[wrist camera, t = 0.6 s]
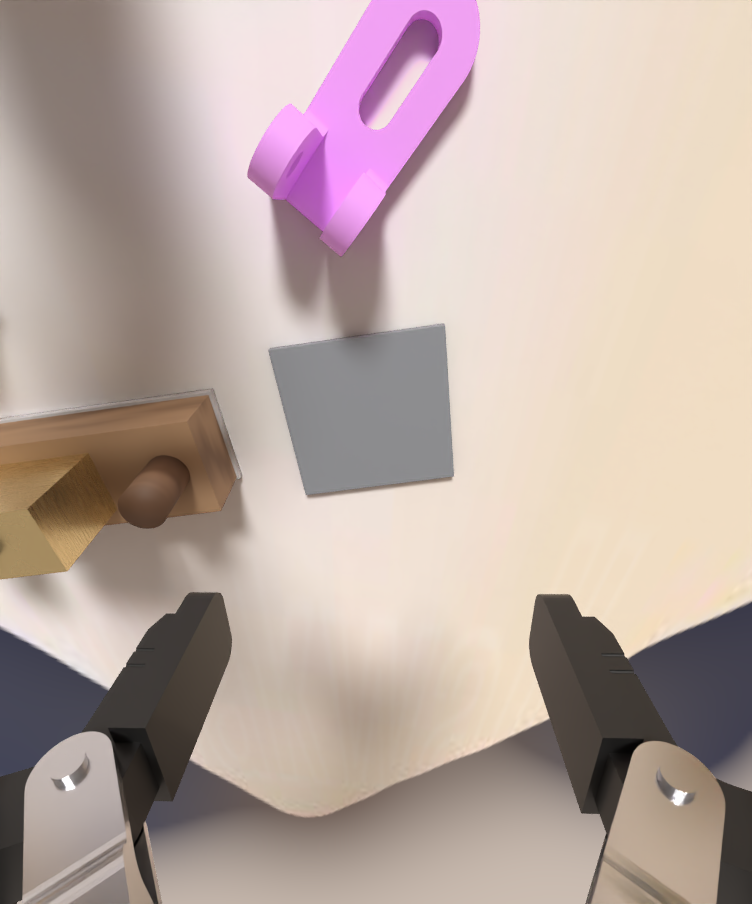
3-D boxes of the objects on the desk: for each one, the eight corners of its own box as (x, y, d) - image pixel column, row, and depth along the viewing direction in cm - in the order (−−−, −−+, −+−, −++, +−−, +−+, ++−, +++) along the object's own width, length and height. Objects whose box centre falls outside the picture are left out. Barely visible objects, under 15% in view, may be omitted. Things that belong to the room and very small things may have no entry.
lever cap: (-30, 468, 29) (-126, 534, 23) (88, 453, 29) (19, 515, 23) (7, 522, 31) (-73, 594, 26) (117, 508, 31) (61, 578, 25)
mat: (270, 348, 31) (268, 350, 30) (443, 323, 30) (444, 325, 30) (306, 490, 37) (305, 494, 36) (452, 472, 36) (453, 476, 36)
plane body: (-81, 429, 33) (-262, 522, 24) (212, 388, 32) (148, 468, 22) (-24, 508, 37) (-161, 617, 27) (241, 474, 36) (196, 575, 26)
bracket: (344, 247, 28) (339, 260, 22) (268, 182, 26) (239, 176, 20) (496, 34, 23) (542, -25, 17) (415, -64, 21) (436, -170, 15)
